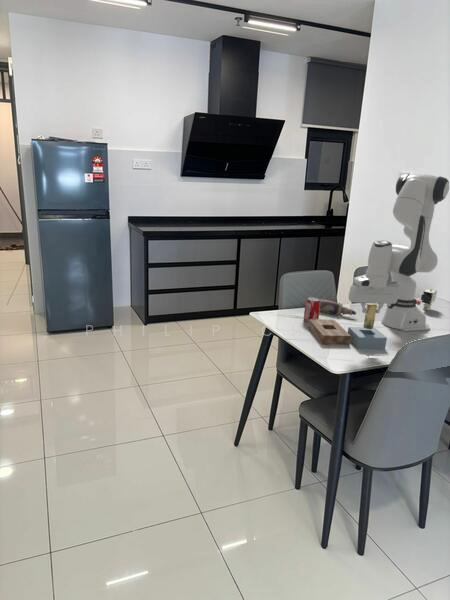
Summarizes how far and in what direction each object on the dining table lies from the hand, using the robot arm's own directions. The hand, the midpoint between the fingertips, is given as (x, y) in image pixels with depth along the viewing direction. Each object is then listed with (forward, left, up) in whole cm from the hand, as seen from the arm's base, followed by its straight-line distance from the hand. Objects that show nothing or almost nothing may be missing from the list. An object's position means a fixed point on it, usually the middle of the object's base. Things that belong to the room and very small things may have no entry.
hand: (370, 312), depth 184 cm
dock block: (0, 0, -15) cm, 15 cm away
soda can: (+16, -27, -15) cm, 35 cm away
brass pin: (0, 0, -7) cm, 7 cm away
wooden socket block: (+14, -8, -15) cm, 22 cm away
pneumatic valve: (-59, -53, -15) cm, 80 cm away
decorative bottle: (+2, -42, -15) cm, 45 cm away
